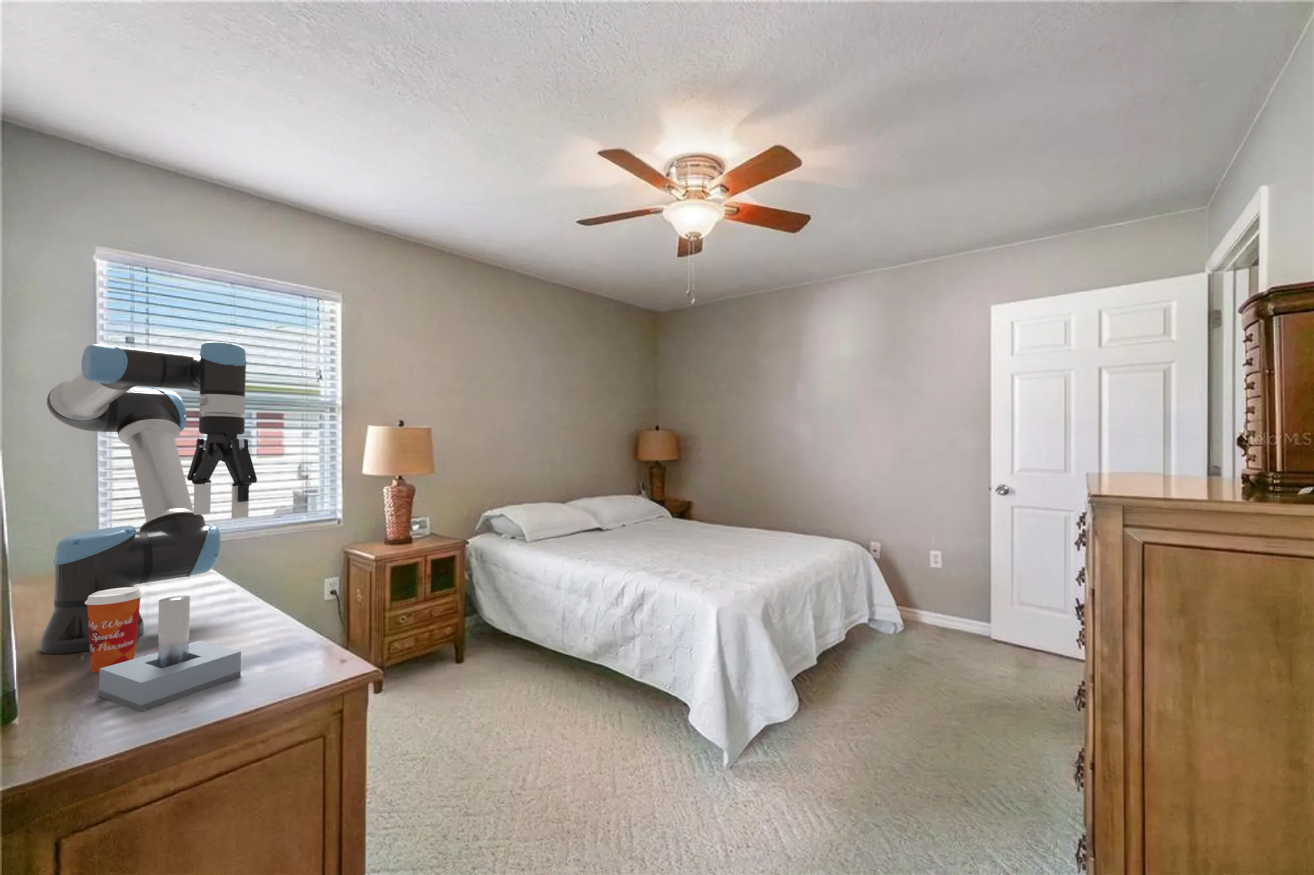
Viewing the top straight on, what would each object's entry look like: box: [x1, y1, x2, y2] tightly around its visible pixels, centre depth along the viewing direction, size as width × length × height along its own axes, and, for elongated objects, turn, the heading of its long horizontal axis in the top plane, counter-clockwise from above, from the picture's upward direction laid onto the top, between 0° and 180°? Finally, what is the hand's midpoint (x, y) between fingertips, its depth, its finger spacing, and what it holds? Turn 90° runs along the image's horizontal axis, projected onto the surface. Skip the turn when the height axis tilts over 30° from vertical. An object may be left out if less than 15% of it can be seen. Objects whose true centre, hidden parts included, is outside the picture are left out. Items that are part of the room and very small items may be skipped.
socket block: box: [98, 640, 242, 713], centre depth 92 cm, size 13×14×4 cm
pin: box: [157, 595, 191, 668], centre depth 92 cm, size 4×4×14 cm
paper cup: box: [85, 586, 145, 673], centre depth 100 cm, size 8×8×14 cm
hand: (220, 516), depth 113 cm, fingers open, 13 cm apart
